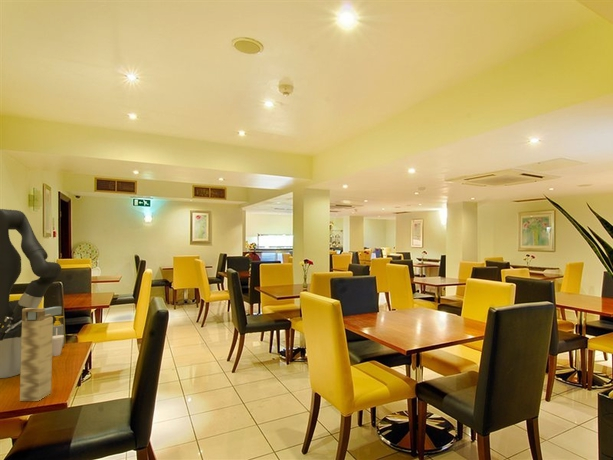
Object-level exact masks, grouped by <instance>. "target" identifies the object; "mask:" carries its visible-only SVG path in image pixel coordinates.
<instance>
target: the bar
mask: <svg viewBox="0 0 613 460" xmlns="http://www.w3.org/2000/svg"><path fill="white" fill-rule="evenodd" d="M44 308H45V307H44ZM62 308H63V307H62V306H52V307H51V306H50V307H46V308H45V315H47V314H52V317H55V316H59V315H62V312H63V311H62V310H63V309H62ZM27 320H37V312H28V319H27Z"/></svg>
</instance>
